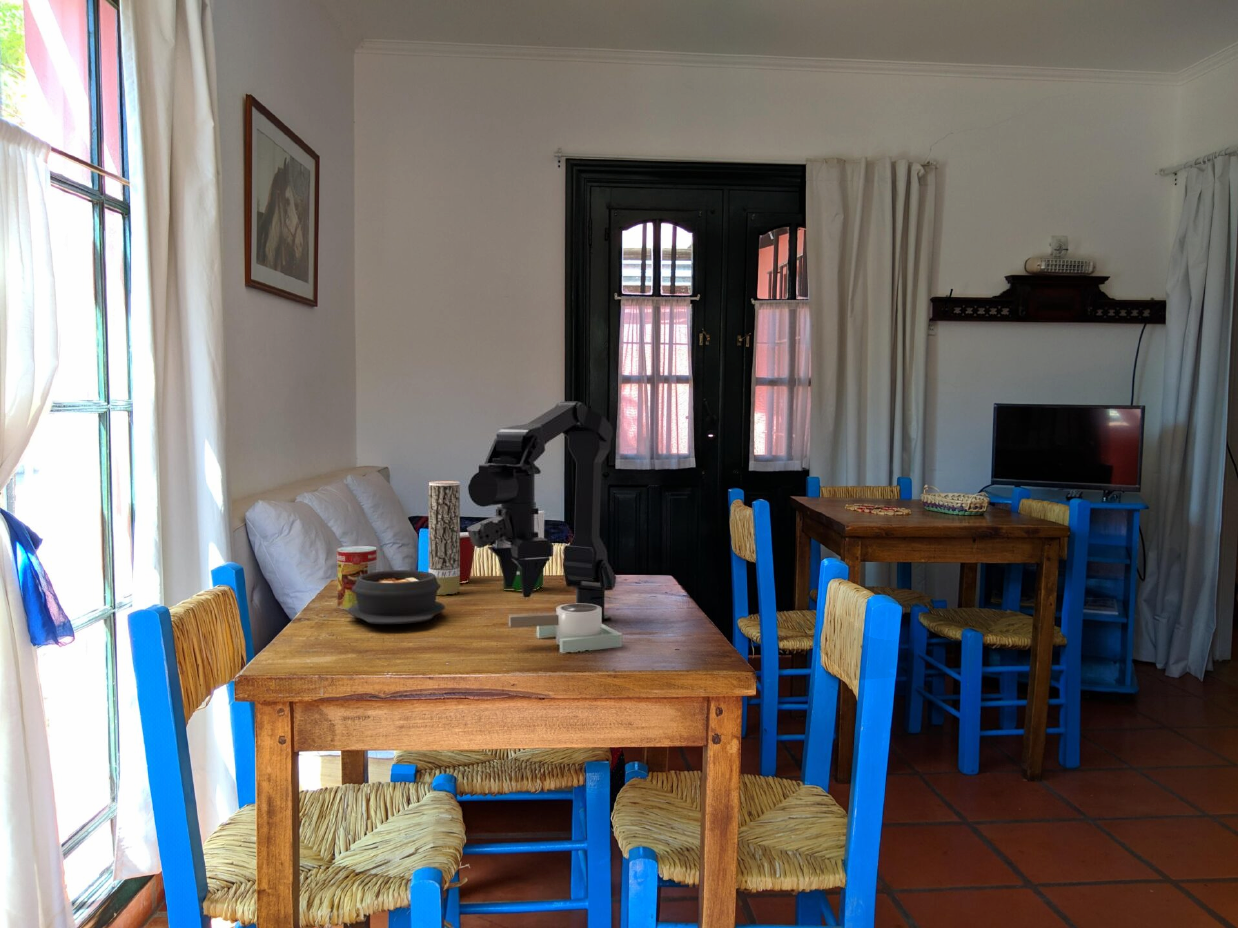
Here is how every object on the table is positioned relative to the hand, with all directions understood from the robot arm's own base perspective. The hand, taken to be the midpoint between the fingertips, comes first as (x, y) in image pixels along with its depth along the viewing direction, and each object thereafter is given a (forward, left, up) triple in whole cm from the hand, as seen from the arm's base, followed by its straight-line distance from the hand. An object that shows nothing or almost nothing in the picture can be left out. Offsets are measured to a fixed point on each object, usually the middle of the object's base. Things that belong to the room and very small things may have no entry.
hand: (517, 592), depth 153 cm
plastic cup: (-64, +7, -10) cm, 65 cm away
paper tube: (-52, +1, -10) cm, 53 cm away
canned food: (-46, -19, -10) cm, 51 cm away
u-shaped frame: (0, +11, -10) cm, 14 cm away
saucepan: (+1, +7, -10) cm, 12 cm away
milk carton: (-50, +19, -10) cm, 54 cm away
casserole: (-31, -14, -10) cm, 35 cm away
